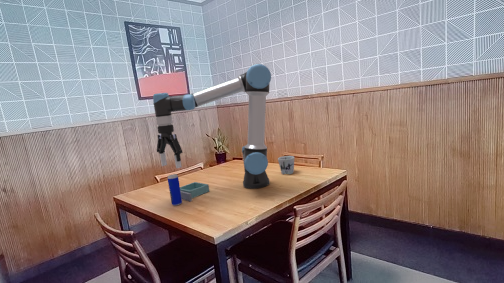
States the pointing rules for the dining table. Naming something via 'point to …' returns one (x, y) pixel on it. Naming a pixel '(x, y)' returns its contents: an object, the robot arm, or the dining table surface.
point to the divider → (186, 196)
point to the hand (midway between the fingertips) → (171, 166)
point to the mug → (286, 164)
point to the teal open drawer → (195, 188)
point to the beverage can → (174, 189)
